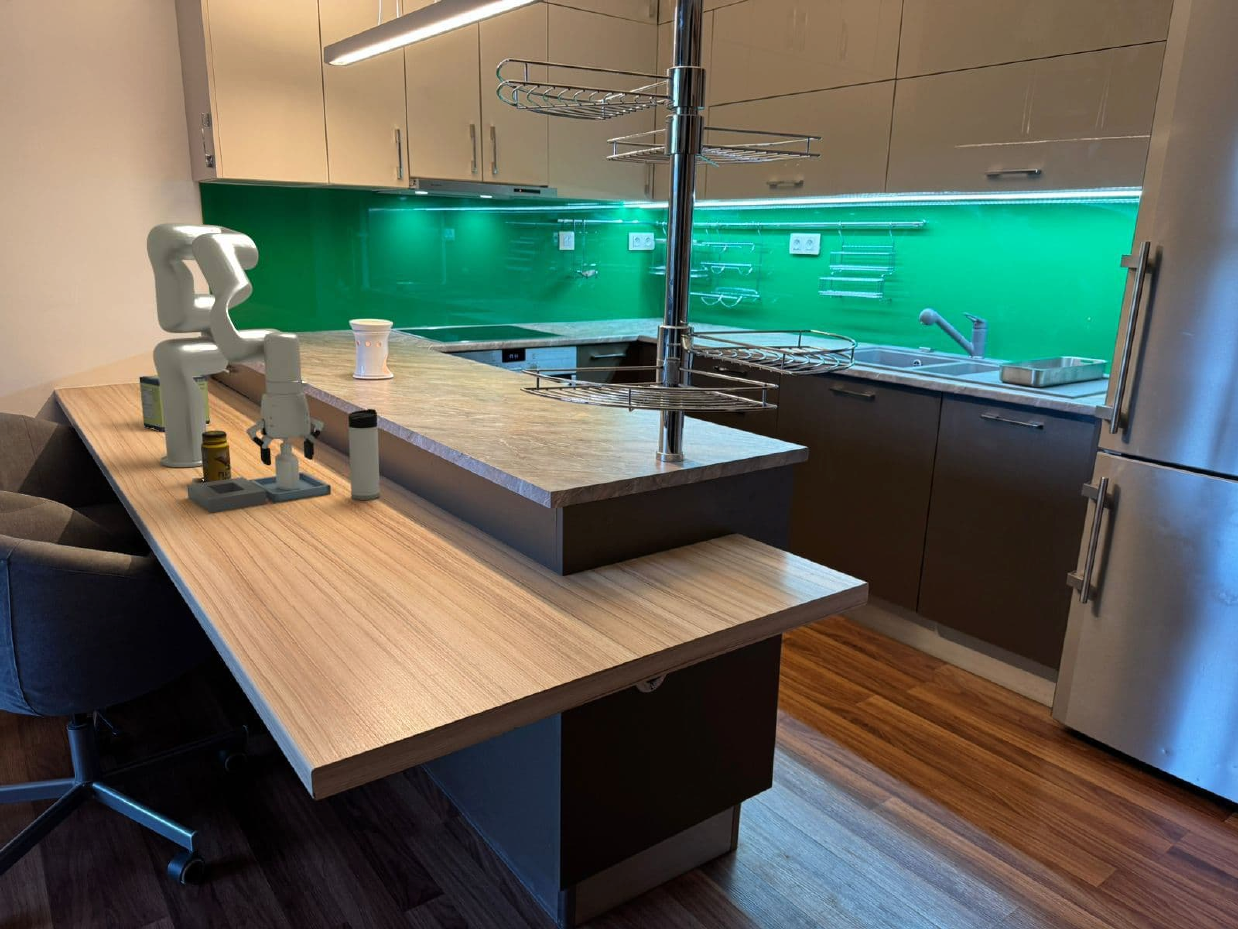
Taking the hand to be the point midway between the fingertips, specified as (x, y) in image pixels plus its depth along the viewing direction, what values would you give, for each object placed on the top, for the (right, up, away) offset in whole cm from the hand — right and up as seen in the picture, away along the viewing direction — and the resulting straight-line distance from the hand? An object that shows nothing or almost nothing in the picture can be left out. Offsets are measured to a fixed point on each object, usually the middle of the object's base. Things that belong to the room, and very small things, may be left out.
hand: (288, 461), depth 195 cm
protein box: (-59, +11, +64) cm, 87 cm away
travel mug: (+18, -8, 0) cm, 20 cm away
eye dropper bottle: (-1, -6, +2) cm, 7 cm away
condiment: (-21, -5, +7) cm, 22 cm away
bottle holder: (-11, -9, -8) cm, 16 cm away
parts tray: (0, -7, +2) cm, 7 cm away
